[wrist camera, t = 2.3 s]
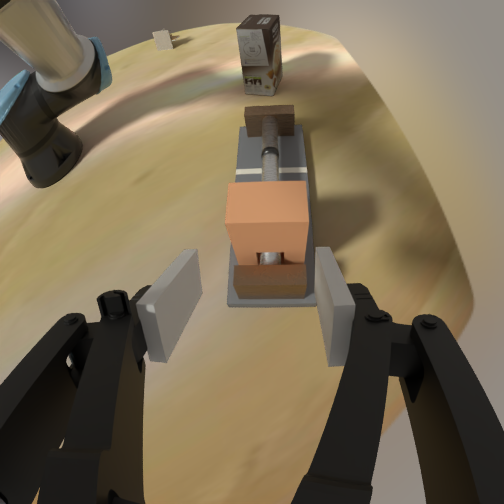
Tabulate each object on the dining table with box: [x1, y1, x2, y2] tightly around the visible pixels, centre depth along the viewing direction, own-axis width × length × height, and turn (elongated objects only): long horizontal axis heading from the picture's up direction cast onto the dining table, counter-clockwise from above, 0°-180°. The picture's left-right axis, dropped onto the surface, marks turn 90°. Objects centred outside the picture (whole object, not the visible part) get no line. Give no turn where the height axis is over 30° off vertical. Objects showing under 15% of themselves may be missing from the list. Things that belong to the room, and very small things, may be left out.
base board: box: [227, 125, 316, 307], centre depth 45 cm, size 32×11×2 cm, turn 178°
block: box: [225, 181, 309, 265], centre depth 35 cm, size 5×8×11 cm, turn 88°
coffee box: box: [236, 15, 282, 96], centre depth 53 cm, size 9×6×16 cm
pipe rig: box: [233, 105, 307, 299], centre depth 43 cm, size 31×8×5 cm, turn 178°
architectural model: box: [153, 30, 180, 50], centre depth 74 cm, size 3×7×7 cm, turn 74°
